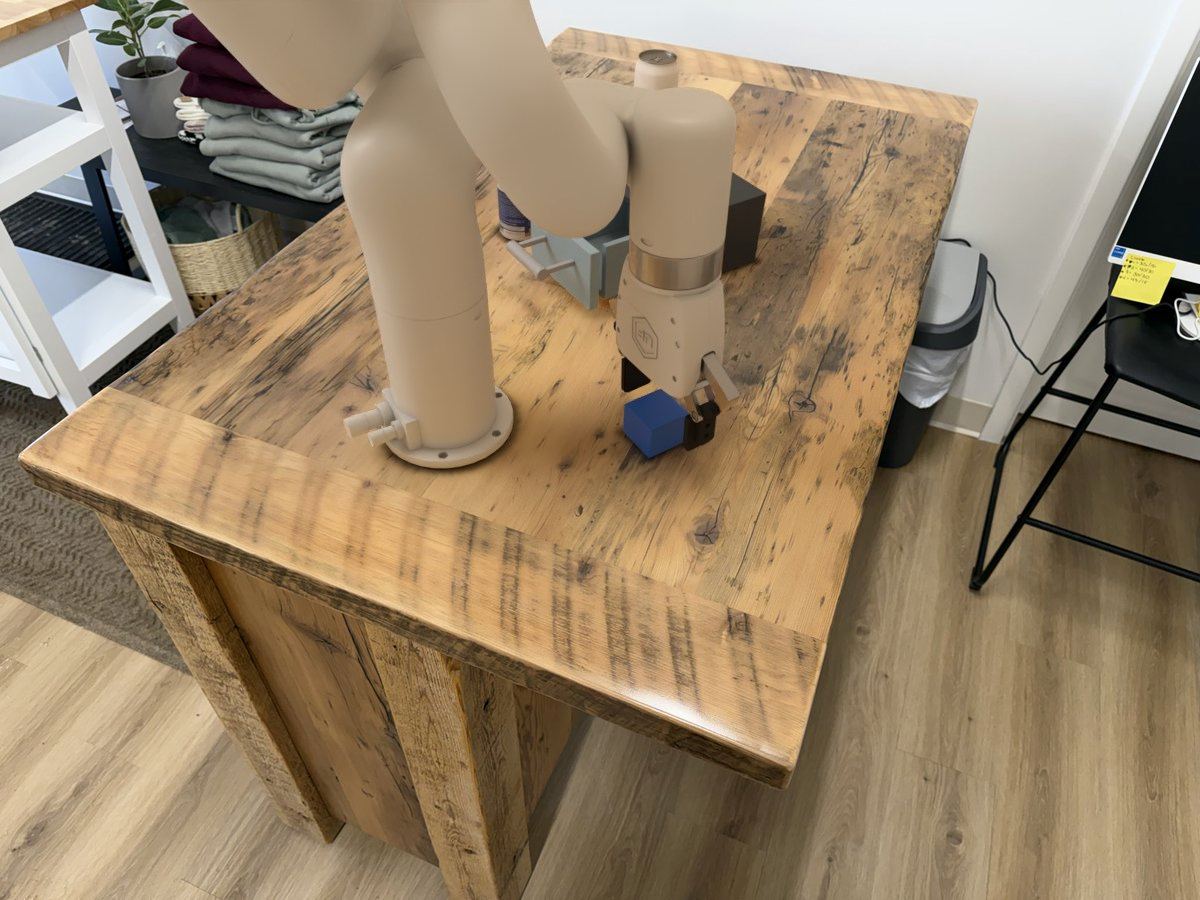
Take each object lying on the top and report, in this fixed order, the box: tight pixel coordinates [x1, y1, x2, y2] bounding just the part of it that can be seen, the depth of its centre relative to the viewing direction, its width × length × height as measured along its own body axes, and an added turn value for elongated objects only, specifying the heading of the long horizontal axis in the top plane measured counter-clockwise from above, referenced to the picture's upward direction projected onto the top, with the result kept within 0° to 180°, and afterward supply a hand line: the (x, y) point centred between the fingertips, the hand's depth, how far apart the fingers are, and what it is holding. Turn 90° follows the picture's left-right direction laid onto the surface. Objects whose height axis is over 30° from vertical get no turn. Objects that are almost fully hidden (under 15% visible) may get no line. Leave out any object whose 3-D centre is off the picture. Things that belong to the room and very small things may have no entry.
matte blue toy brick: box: [622, 388, 690, 459], centre depth 80 cm, size 4×4×4 cm
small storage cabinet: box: [623, 171, 767, 274], centre depth 102 cm, size 15×14×9 cm
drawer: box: [505, 201, 630, 312], centre depth 97 cm, size 18×13×7 cm
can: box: [633, 48, 680, 90], centre depth 124 cm, size 6×6×12 cm
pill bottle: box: [496, 182, 531, 242], centre depth 104 cm, size 5×5×10 cm
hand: (666, 414), depth 79 cm, fingers open, 9 cm apart
